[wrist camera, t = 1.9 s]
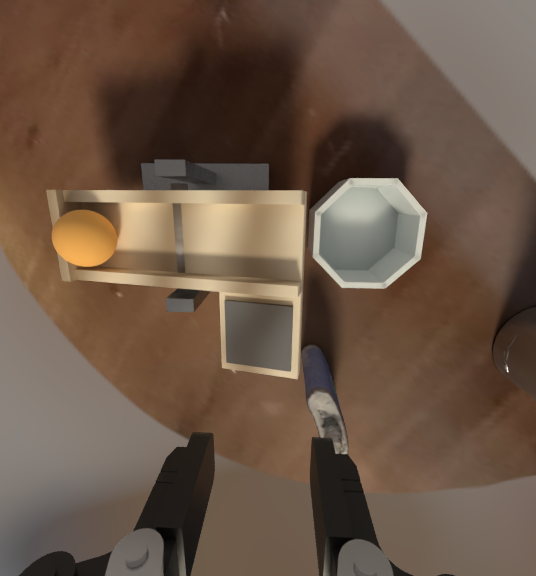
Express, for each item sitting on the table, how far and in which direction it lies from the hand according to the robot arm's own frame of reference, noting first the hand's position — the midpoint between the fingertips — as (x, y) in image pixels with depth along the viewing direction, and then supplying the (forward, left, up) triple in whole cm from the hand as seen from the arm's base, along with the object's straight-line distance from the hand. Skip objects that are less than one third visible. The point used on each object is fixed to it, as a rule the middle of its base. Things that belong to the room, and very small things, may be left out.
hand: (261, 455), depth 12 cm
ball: (+13, -6, -12) cm, 19 cm away
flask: (-5, +11, -23) cm, 25 cm away
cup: (-8, -6, -22) cm, 24 cm away
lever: (+7, -3, -14) cm, 16 cm away
